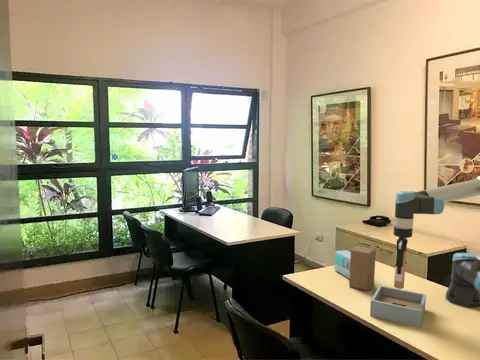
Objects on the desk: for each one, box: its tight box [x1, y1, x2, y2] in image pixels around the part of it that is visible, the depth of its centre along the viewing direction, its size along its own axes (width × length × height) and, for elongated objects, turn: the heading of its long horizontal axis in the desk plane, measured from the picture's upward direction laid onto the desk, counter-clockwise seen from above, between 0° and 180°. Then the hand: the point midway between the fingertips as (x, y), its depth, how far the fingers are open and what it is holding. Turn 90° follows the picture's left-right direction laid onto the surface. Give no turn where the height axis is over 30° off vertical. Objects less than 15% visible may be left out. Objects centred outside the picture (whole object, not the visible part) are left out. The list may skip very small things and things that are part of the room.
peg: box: [393, 250, 407, 290], centre depth 169 cm, size 4×4×16 cm
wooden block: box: [348, 245, 377, 292], centre depth 199 cm, size 10×10×20 cm
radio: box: [334, 243, 361, 280], centre depth 216 cm, size 16×9×20 cm, turn 17°
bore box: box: [369, 285, 427, 328], centre depth 171 cm, size 20×20×7 cm
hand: (399, 279), depth 169 cm, fingers closed on peg, 4 cm apart
